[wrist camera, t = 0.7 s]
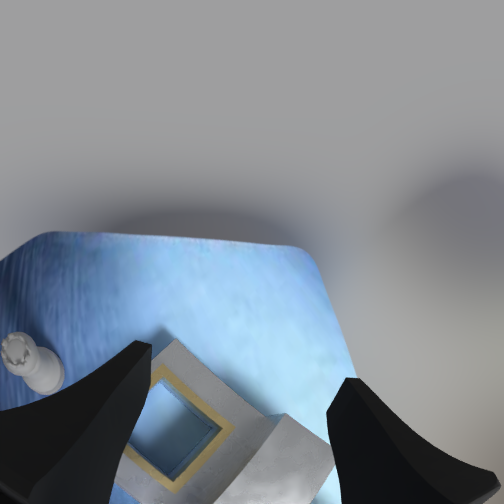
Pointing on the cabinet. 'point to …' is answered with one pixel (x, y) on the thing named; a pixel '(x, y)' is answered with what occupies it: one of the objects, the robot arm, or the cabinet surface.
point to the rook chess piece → (32, 363)
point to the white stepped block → (226, 447)
